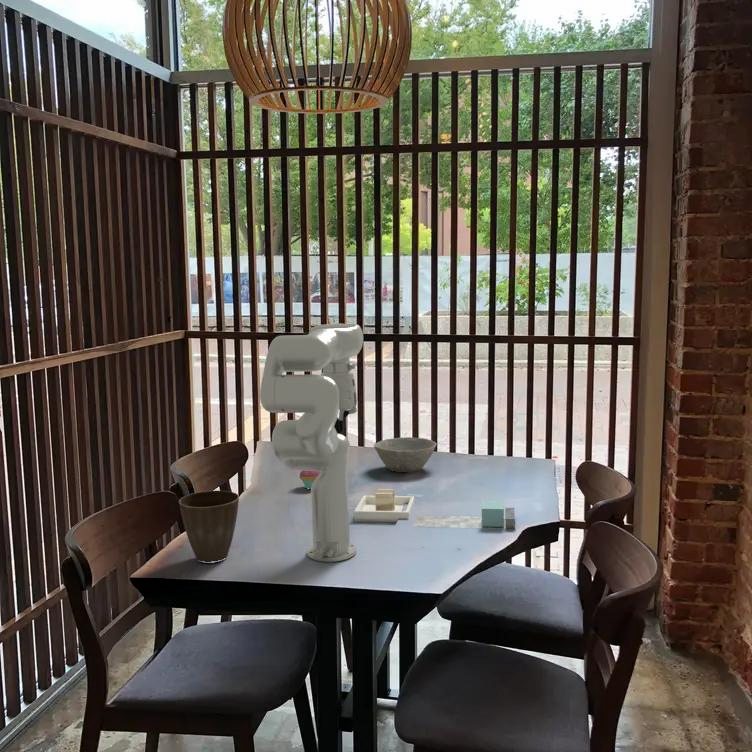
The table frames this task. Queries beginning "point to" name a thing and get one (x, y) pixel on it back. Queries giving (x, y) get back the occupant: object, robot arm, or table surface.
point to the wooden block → (385, 500)
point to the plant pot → (210, 522)
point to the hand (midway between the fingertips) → (338, 433)
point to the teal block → (493, 513)
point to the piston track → (463, 521)
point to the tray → (369, 513)
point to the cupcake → (309, 477)
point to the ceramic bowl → (405, 453)
